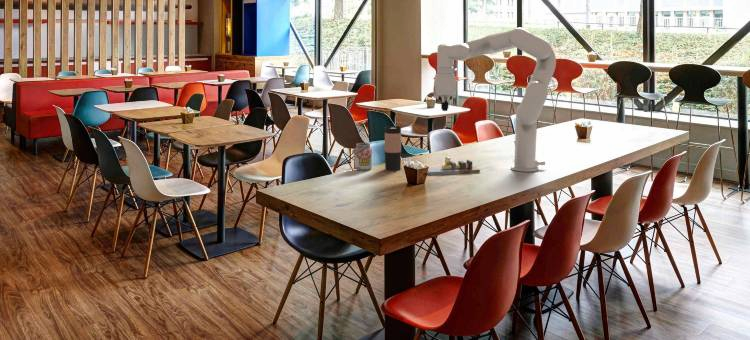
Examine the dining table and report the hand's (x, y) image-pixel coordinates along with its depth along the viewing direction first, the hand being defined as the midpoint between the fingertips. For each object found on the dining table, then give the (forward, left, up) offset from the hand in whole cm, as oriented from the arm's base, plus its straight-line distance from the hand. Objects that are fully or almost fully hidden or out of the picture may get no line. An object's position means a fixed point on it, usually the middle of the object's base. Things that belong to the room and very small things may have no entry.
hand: (444, 110), depth 320 cm
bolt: (-1, +12, -25) cm, 28 cm away
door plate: (+5, +12, -27) cm, 30 cm away
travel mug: (+25, 0, -27) cm, 37 cm away
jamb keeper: (-7, +12, -27) cm, 30 cm away
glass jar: (+39, -4, -27) cm, 48 cm away
